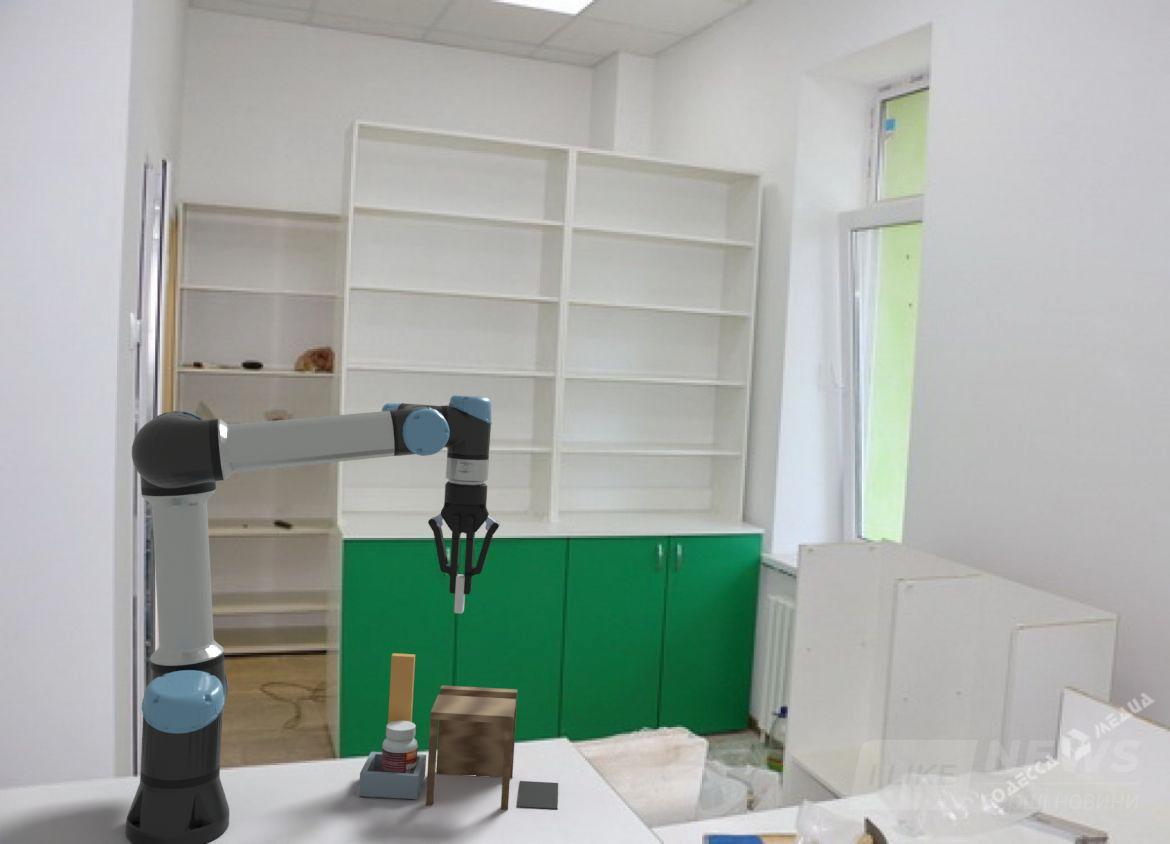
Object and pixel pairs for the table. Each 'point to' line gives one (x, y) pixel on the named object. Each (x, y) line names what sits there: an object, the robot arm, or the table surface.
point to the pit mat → (538, 795)
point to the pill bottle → (399, 748)
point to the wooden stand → (472, 735)
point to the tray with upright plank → (399, 710)
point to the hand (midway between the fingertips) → (459, 611)
